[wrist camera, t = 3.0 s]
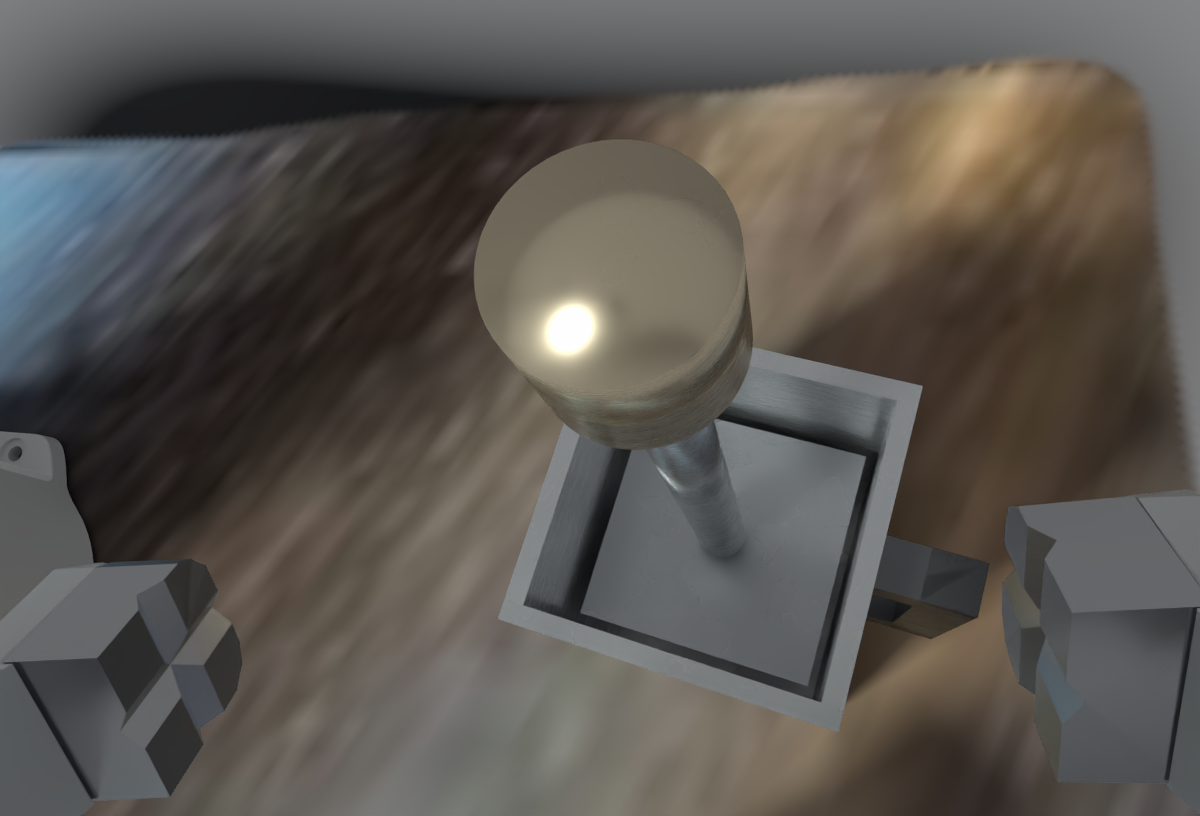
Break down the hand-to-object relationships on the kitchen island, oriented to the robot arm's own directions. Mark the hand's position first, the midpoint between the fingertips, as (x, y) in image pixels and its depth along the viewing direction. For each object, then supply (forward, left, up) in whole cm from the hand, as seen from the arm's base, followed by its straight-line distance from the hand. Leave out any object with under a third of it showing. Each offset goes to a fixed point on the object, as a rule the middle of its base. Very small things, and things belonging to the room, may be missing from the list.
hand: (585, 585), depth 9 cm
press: (0, +4, -34) cm, 34 cm away
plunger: (-1, +4, -24) cm, 24 cm away
